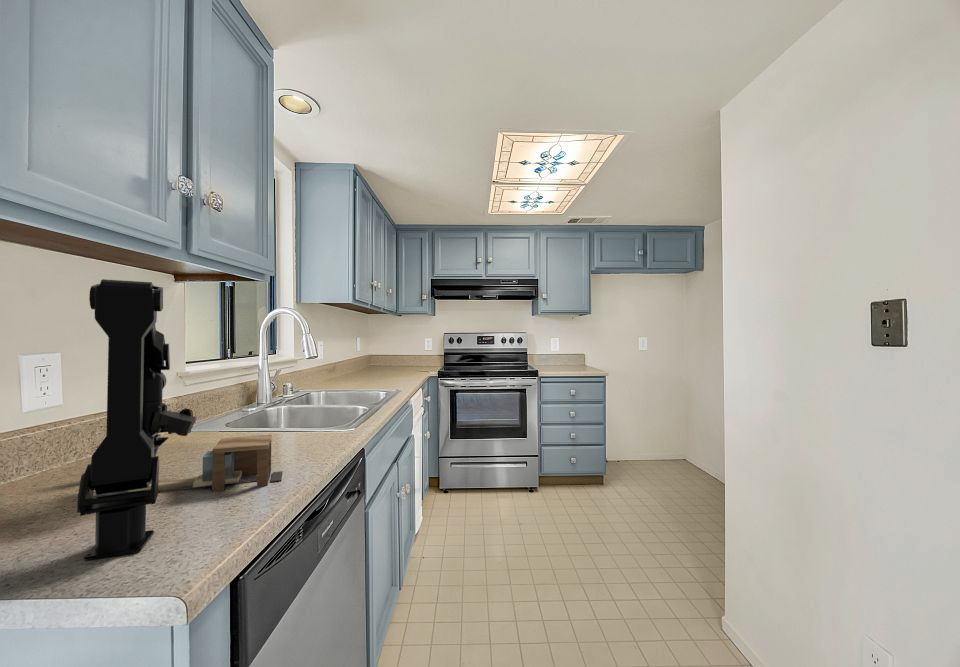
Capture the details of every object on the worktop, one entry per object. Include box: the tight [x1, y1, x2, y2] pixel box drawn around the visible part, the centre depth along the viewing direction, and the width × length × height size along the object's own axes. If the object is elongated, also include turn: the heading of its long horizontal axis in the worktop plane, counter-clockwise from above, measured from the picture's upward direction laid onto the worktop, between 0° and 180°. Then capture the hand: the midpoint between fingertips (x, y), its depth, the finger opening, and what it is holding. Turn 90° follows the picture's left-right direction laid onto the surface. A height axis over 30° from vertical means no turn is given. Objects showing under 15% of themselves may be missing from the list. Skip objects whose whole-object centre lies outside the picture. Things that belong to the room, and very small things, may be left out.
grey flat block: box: [270, 470, 284, 483], centre depth 95 cm, size 6×2×1 cm, turn 22°
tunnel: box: [211, 434, 272, 493], centre depth 92 cm, size 10×10×8 cm
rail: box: [93, 473, 271, 498], centre depth 88 cm, size 2×32×1 cm, turn 113°
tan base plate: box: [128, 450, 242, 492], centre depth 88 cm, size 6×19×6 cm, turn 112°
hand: (143, 478), depth 85 cm, fingers closed on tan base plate, 3 cm apart
